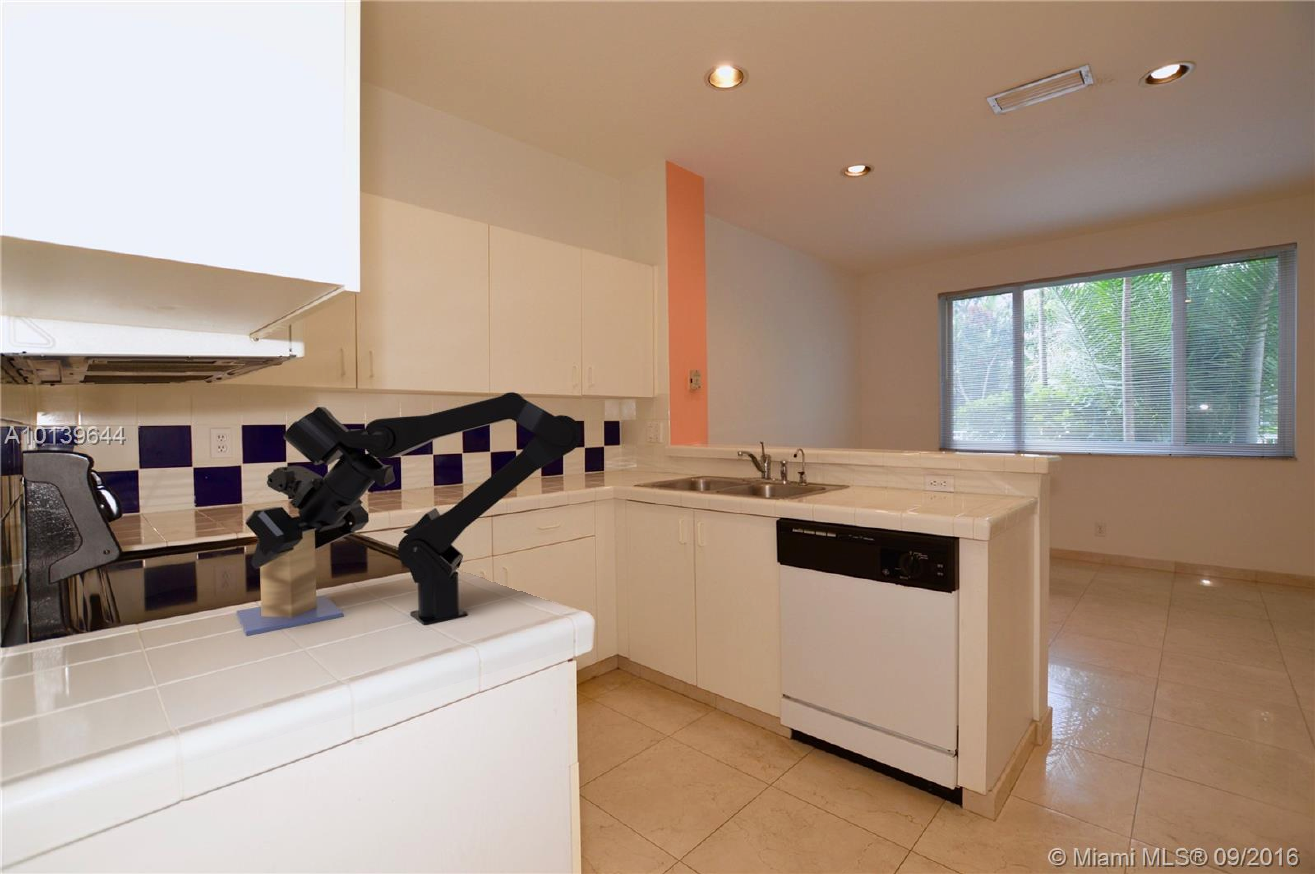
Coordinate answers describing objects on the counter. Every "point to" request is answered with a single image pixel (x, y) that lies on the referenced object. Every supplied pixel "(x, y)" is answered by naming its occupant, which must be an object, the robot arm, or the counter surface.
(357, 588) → the counter surface
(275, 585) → the oak block
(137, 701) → the counter surface
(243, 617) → the blue tile
